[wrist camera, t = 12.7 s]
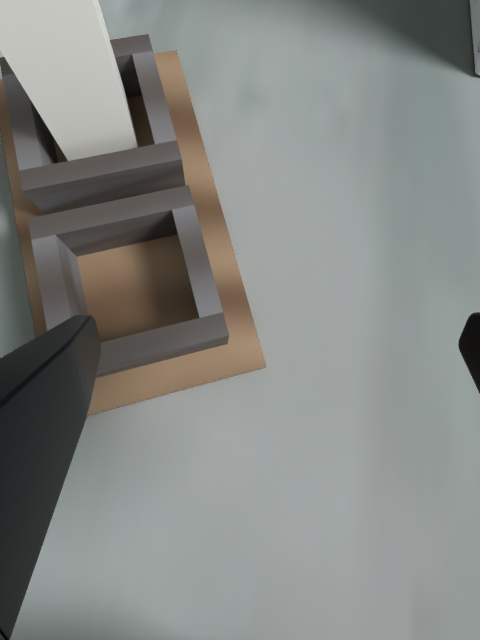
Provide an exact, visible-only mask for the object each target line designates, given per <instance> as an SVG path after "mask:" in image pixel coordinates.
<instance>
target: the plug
mask: <svg viewBox="0 0 480 640" xmlns="http://www.w3.org/2000/svg"><path fill="white" fill-rule="evenodd" d="M0 51H1V53H2V54H3V56H4V57H5V59H6V61H7V62H8V64H9V66H10V67H11V69H12V70H13V72H14V74H15V75H16V77H17V79H18V80H19V82H20V83H21V85H22V87H23V88H24V90H25V92H26V93H27V95H28V96H29V98H30V100H31V101H32V103H33V105H34V106H35V108H36V109H37V111H38V113H39V114H40V116H41V118H42V119H43V121H44V122H45V124H46V126H47V127H48V129H49V131H50V132H51V134H52V135H53V137H54V139H55V140H56V142H57V144H58V145H59V147H60V148H61V150H62V152H63V153H64V155H65V157H66V158H67V160H68V161H71V160H76V159H82V158H87V157H92V156H97V155H102V154H107V153H112V152H118V151H123V150H128V149H133V148H138V147H139V144H138V140H137V136H136V132H135V127H134V123H133V119H132V115H131V111H130V107H129V104H128V100H127V97H126V94H125V90H124V87H123V83H122V80H121V77H120V73H119V70H118V66H117V63H116V60H115V56H114V53H113V49H112V46H111V43H110V39H109V36H108V32H107V29H106V26H105V22H104V19H103V15H102V12H101V9H100V5H99V2H98V0H0Z"/></svg>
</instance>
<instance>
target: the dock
mask: <svg viewBox="0 0 480 640" xmlns="http://www.w3.org/2000/svg"><path fill="white" fill-rule="evenodd" d="M110 43H111V46H112V49H113V53H114V56H115V60H116V63H117V66H118V70H119V73H120V77H121V80H122V83H123V87H124V90H125V94H126V97H127V100H128V104H129V107H130V111H131V115H132V119H133V123H134V127H135V132H136V136H137V140H138V144H139V147H138V148H133V149H128V150H123V151H118V152H112V153H107V154H102V155H97V156H92V157H87V158H82V159H76V160H71V161H68V160H67V158H66V157H65V155H64V153H63V152H62V150H61V148H60V147H59V145H58V144H57V142H56V140H55V139H54V137H53V135H52V134H51V132H50V131H49V129H48V127H47V126H46V124H45V122H44V121H43V119H42V118H41V116H40V114H39V113H38V111H37V109H36V108H35V106H34V105H33V103H32V101H31V100H30V98H29V96H28V95H27V93H26V92H25V90H24V88H23V87H22V85H21V83H20V82H19V80H18V79H17V77H16V75H15V74H14V72H13V70H12V69H11V67H10V66H9V64H8V62H7V61H6V59H5V57H2V58H0V65H1V71H2V77H3V79H2V80H0V130H1V136H2V142H3V148H4V154H5V159H6V165H7V171H8V177H9V183H10V189H11V195H12V201H13V207H14V212H15V218H16V224H17V230H18V236H19V242H20V248H21V254H22V260H23V266H24V271H25V277H26V283H27V289H28V295H29V301H30V307H31V313H32V319H33V324H34V330H35V336H36V337H38V336H40V335H41V334H43V333H45V332H47V331H48V330H50V329H52V328H54V327H55V326H57V325H59V324H60V323H62V322H64V321H66V320H67V319H69V318H71V317H72V316H75V315H91V316H93V317H94V319H95V321H96V325H97V330H98V335H99V339H100V344H101V354H100V359H99V364H98V369H97V374H96V379H95V384H94V388H93V393H92V398H91V402H90V407H89V411H88V414H87V416H88V415H92V414H96V413H99V412H103V411H107V410H110V409H114V408H118V407H121V406H125V405H129V404H133V403H136V402H140V401H144V400H147V399H151V398H155V397H158V396H162V395H166V394H169V393H173V392H177V391H181V390H184V389H188V388H192V387H195V386H199V385H203V384H206V383H210V382H214V381H217V380H221V379H225V378H229V377H232V376H236V375H240V374H243V373H247V372H251V371H254V370H258V369H262V368H265V367H266V364H265V360H264V356H263V353H262V349H261V346H260V342H259V339H258V335H257V332H256V328H255V325H254V321H253V318H252V314H251V311H250V307H249V304H248V300H247V297H246V293H245V290H244V286H243V283H242V279H241V275H240V272H239V268H238V265H237V261H236V258H235V254H234V251H233V247H232V244H231V240H230V237H229V233H228V230H227V226H226V223H225V219H224V216H223V212H222V209H221V205H220V202H219V198H218V194H217V191H216V187H215V184H214V180H213V177H212V173H211V170H210V166H209V163H208V159H207V156H206V152H205V149H204V145H203V142H202V138H201V135H200V131H199V128H198V124H197V121H196V117H195V113H194V110H193V106H192V103H191V99H190V96H189V92H188V89H187V85H186V82H185V78H184V75H183V71H182V68H181V64H180V61H179V57H178V54H177V50H176V51H170V52H164V53H158V54H153V50H152V46H151V43H150V39H149V35H148V34H146V35H139V36H133V37H127V38H121V39H114V40H110Z"/></svg>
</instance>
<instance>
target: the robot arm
mask: <svg viewBox="0 0 480 640" xmlns="http://www.w3.org/2000/svg"><path fill="white" fill-rule="evenodd" d="M459 350H460V352H461V354H462V357H463V359H464V361H465V363H466V365H467V367H468V369H469V372H470V374H471V376H472V378H473V380H474V382H475V384H476V387H477V389H478V391H479V393H480V312H477V313H473V314H471V315H470V316H469V318H468V320H467V322H466V325H465V327H464V329H463V332H462V334H461V336H460V339H459ZM100 354H101V344H100V339H99V335H98V330H97V325H96V321H95V319H94V317H93V316H91V315H75V316H72V317H71V318H69V319H67V320H66V321H64V322H62V323H60V324H59V325H57V326H55V327H54V328H52V329H50V330H48V331H47V332H45V333H43V334H41V335H40V336H38V337H36V338H35V339H33V340H31V341H29V342H28V343H26V344H24V345H23V346H21V347H19V348H17V349H16V350H14V351H12V352H11V353H9V354H7V355H5V356H4V357H2V358H0V640H10V637H11V634H12V631H13V628H14V626H15V623H16V620H17V617H18V614H19V611H20V608H21V605H22V602H23V600H24V597H25V594H26V591H27V588H28V585H29V582H30V579H31V576H32V573H33V571H34V568H35V565H36V562H37V559H38V556H39V553H40V550H41V547H42V545H43V542H44V539H45V536H46V533H47V530H48V527H49V524H50V521H51V519H52V516H53V513H54V510H55V507H56V504H57V501H58V498H59V495H60V493H61V490H62V487H63V484H64V481H65V478H66V475H67V472H68V469H69V466H70V464H71V461H72V458H73V455H74V452H75V449H76V446H77V443H78V440H79V438H80V435H81V432H82V429H83V426H84V423H85V420H86V417H87V414H88V411H89V407H90V402H91V398H92V393H93V388H94V384H95V379H96V374H97V369H98V364H99V359H100Z"/></svg>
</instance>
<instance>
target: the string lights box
mask: <svg viewBox="0 0 480 640" xmlns="http://www.w3.org/2000/svg"><path fill="white" fill-rule="evenodd" d="M470 10H471V23H472V36H473V48H474V61H475V73H476V74H477V75H480V0H470Z"/></svg>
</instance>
